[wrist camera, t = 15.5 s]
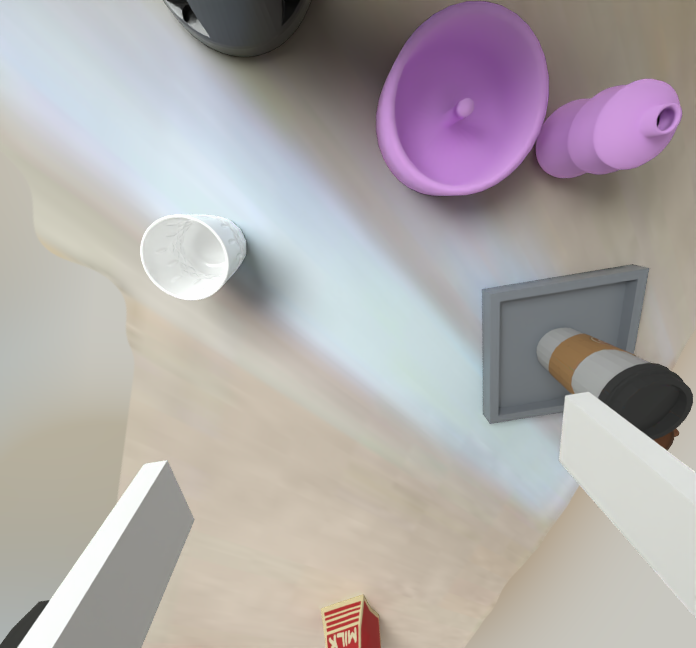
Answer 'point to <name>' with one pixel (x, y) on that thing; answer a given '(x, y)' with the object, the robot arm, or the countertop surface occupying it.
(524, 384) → the tray
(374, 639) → the milk carton
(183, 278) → the white cup
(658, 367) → the coffee cup
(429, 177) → the container set
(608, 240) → the countertop surface
